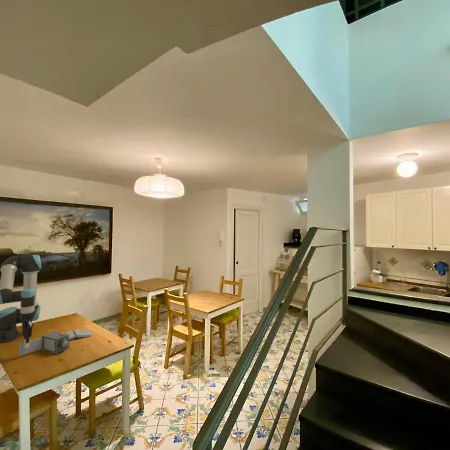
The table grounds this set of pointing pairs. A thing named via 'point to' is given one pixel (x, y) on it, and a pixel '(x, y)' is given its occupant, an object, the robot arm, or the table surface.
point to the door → (31, 346)
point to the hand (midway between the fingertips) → (26, 347)
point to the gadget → (79, 333)
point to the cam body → (55, 342)
